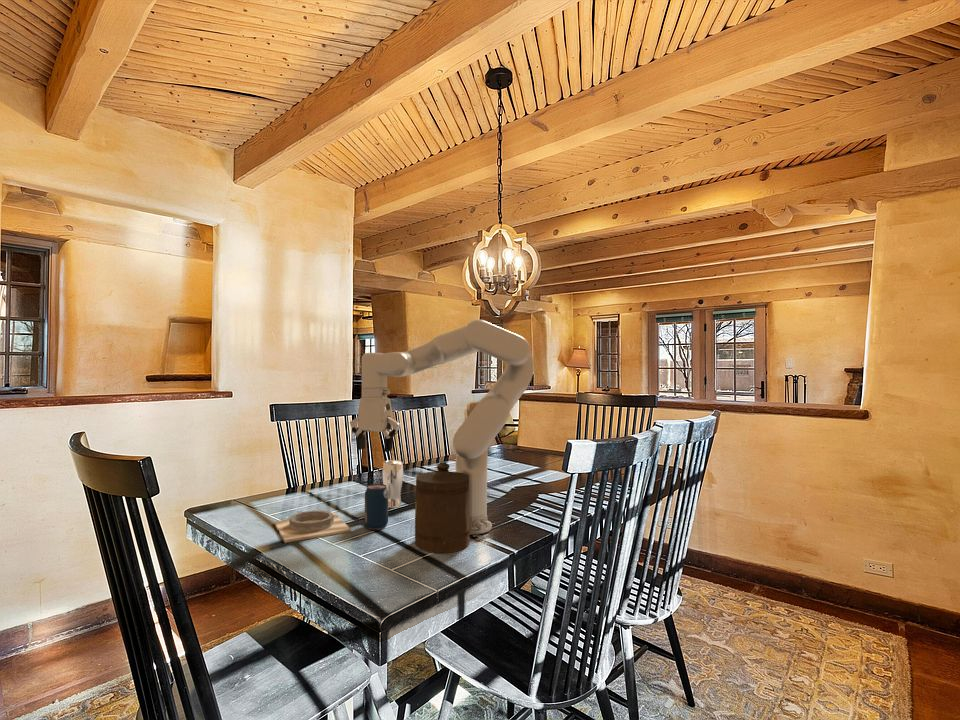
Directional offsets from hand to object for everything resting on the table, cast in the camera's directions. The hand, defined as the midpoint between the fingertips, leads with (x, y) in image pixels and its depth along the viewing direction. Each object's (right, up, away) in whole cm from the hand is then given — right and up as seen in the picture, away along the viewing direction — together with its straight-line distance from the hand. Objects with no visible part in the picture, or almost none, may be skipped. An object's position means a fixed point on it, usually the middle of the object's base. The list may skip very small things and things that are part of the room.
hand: (374, 450), depth 149 cm
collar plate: (-18, -22, -3) cm, 29 cm away
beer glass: (+2, -23, +20) cm, 31 cm away
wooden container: (+22, -23, -15) cm, 35 cm away
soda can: (+1, -23, -1) cm, 23 cm away
